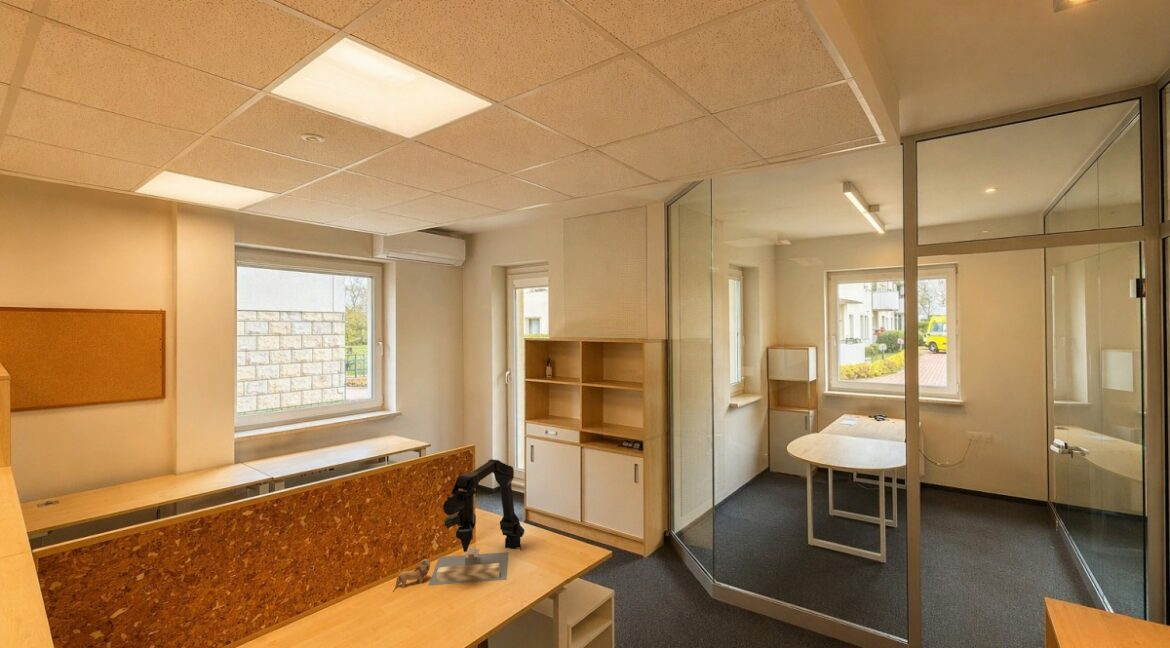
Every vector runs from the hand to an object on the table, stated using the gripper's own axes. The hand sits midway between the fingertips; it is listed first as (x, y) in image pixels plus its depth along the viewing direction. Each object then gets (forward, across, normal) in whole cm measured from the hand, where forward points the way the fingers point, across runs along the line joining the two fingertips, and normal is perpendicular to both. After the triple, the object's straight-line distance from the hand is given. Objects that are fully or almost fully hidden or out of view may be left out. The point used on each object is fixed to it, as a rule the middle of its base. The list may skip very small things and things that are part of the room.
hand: (466, 546), depth 199 cm
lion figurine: (+14, +1, -20) cm, 25 cm away
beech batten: (+12, 0, +1) cm, 12 cm away
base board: (+13, -8, +1) cm, 16 cm away
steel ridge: (+12, -13, +1) cm, 17 cm away
